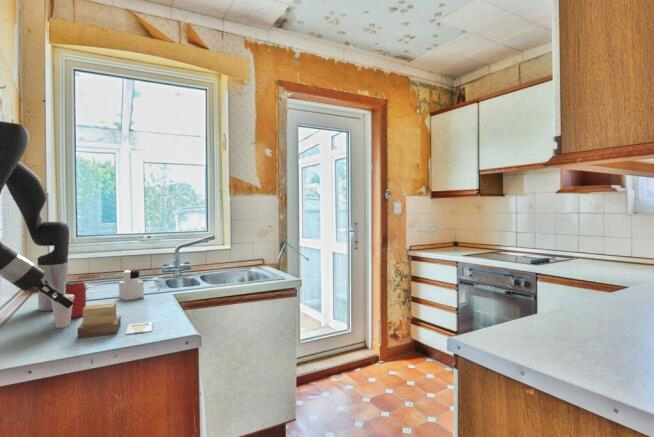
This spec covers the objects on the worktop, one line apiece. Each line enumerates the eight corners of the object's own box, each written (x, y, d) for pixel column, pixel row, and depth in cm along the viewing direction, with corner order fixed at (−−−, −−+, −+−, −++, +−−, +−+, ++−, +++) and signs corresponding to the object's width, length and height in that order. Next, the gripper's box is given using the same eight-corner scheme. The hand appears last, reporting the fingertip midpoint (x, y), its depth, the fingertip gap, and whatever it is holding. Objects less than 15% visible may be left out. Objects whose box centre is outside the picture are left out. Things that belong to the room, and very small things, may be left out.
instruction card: (128, 325, 119) (128, 324, 119) (152, 322, 122) (152, 321, 122) (125, 334, 109) (125, 333, 109) (151, 331, 112) (151, 330, 112)
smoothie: (78, 325, 119) (78, 282, 119) (55, 330, 114) (55, 285, 114) (69, 321, 123) (68, 280, 122) (46, 327, 117) (46, 283, 117)
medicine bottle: (135, 295, 162) (135, 268, 162) (144, 297, 158) (143, 269, 158) (118, 298, 156) (118, 270, 156) (127, 300, 152) (126, 272, 152)
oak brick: (87, 320, 114) (86, 304, 114) (116, 317, 117) (116, 301, 117) (83, 325, 109) (82, 309, 109) (113, 322, 112) (113, 306, 112)
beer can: (74, 319, 126) (74, 284, 126) (58, 318, 127) (58, 283, 127) (90, 314, 132) (90, 281, 132) (75, 313, 134) (74, 280, 133)
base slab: (84, 328, 116) (84, 319, 116) (120, 324, 120) (120, 315, 120) (77, 338, 106) (77, 328, 106) (116, 333, 110) (116, 323, 110)
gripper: (36, 265, 108) (83, 297, 116) (29, 260, 118) (72, 291, 126) (12, 285, 104) (63, 317, 112) (7, 279, 114) (53, 309, 122)
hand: (68, 303), depth 119 cm, fingers open, 7 cm apart
